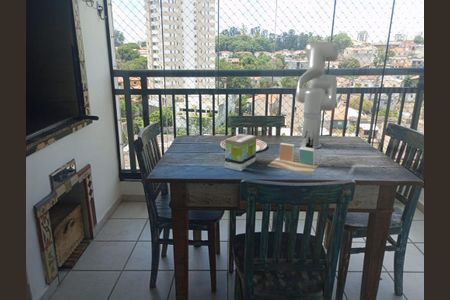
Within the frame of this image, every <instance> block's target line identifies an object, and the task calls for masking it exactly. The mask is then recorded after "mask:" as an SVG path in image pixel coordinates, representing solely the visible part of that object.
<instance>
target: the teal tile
mask: <svg viewBox="0 0 450 300" xmlns="http://www.w3.org/2000/svg"><path fill="white" fill-rule="evenodd" d="M298 150H299V151H298V152H299V160H300V163H302V164H308V165H314V164H315V163H316V149H315V148H308V147H301V146H300V147H299V149H298Z"/></svg>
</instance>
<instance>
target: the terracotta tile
mask: <svg viewBox="0 0 450 300" xmlns="http://www.w3.org/2000/svg"><path fill="white" fill-rule="evenodd" d="M295 147H296V146H295V144H291V143H286V142H281V143H279V153H278V155H279V156H278V157H279V160H284V161H290V162H293V161H294V160H295Z"/></svg>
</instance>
